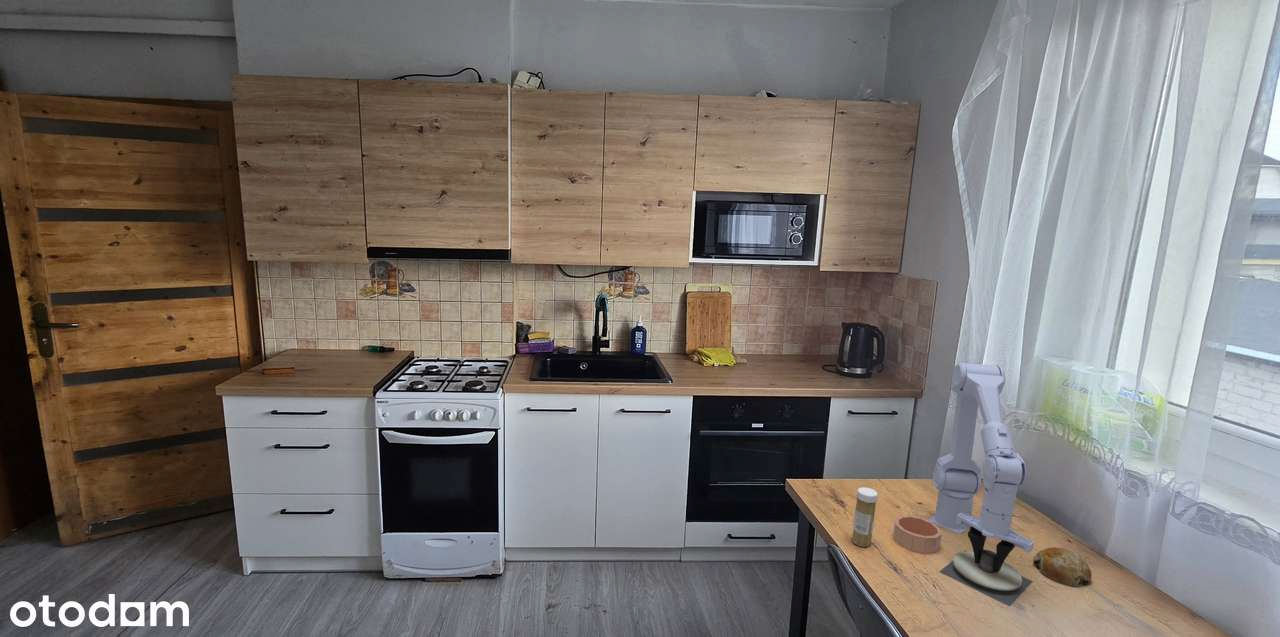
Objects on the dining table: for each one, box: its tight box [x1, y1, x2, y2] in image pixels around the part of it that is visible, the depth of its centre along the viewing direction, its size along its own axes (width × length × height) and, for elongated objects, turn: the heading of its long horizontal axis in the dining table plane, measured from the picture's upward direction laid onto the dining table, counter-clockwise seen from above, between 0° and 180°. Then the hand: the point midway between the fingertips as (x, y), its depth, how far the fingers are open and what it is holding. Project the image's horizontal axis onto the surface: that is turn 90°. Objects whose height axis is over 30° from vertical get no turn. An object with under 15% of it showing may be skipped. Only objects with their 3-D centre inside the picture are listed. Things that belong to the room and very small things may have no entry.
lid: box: [952, 549, 1022, 591], centre depth 125 cm, size 13×13×4 cm
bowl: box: [892, 514, 942, 555], centre depth 138 cm, size 10×10×4 cm
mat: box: [938, 550, 1034, 607], centre depth 126 cm, size 14×14×1 cm
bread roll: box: [1032, 547, 1092, 588], centre depth 128 cm, size 10×10×8 cm
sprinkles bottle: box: [851, 487, 879, 548], centre depth 137 cm, size 5×5×13 cm
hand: (987, 566), depth 126 cm, fingers closed on lid, 3 cm apart
